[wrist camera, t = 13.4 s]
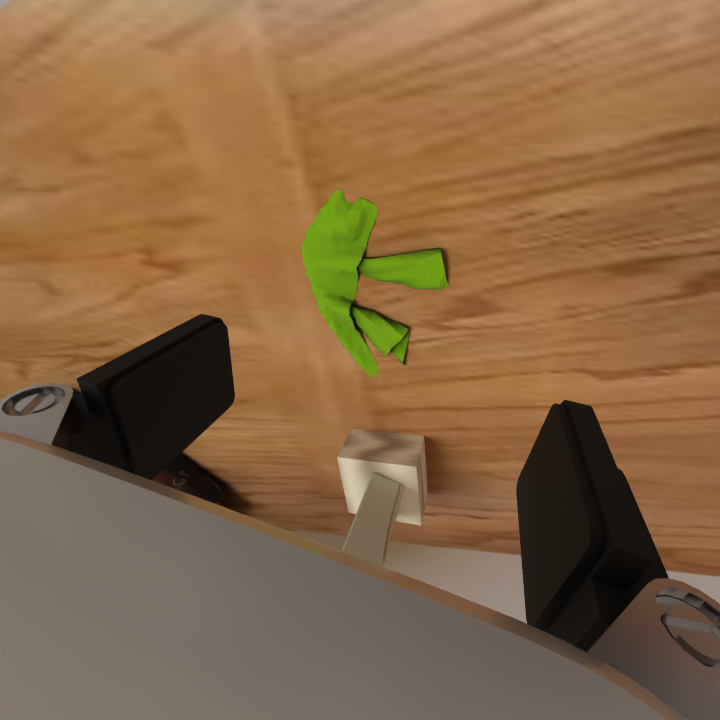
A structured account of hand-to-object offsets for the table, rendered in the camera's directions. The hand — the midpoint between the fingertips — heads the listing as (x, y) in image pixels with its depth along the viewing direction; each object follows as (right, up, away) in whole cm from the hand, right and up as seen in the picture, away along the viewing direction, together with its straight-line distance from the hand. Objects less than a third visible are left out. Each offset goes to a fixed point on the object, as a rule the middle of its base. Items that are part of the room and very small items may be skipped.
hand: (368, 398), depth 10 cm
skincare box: (+3, -16, +35) cm, 38 cm away
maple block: (+4, -13, +40) cm, 42 cm away
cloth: (+2, +8, +30) cm, 31 cm away
